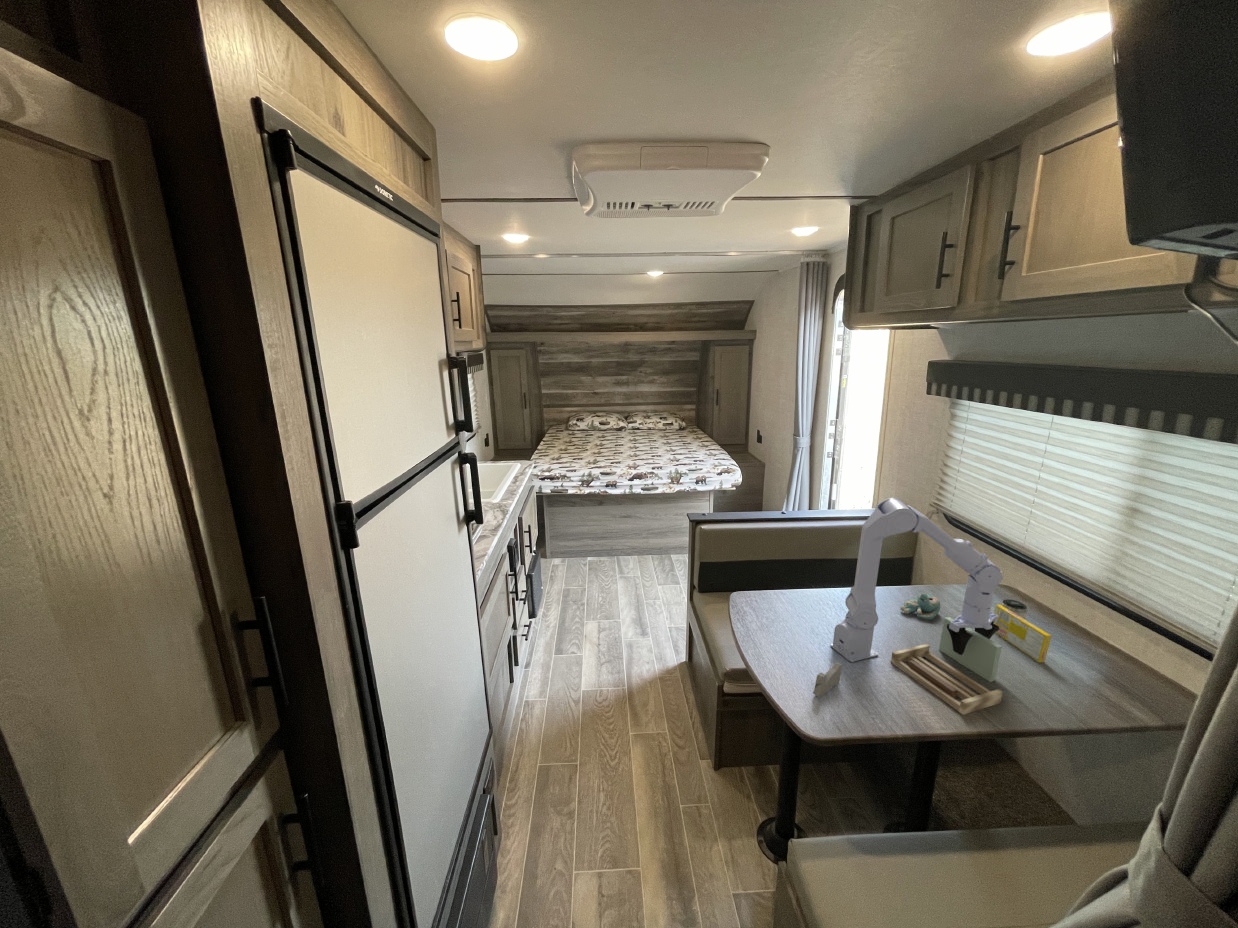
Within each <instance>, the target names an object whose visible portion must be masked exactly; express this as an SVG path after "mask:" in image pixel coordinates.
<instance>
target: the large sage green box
mask: <svg viewBox="0 0 1238 928" xmlns="http://www.w3.org/2000/svg"><path fill="white" fill-rule="evenodd" d="M953 620H955V619H954V618H952V617H950V616H948V617H947V616H946V617H944V619H943V623H942V624H943V626H942V629H941V630H942V631H941V635H940V642H939V647H938V650H939V651H940V652H941V653H943V654H945V655H946V656H948V657H950V658H952V659H953V660H955V661H956V662H958V663H959V664H961V665H962V666H964V667H966V668H967V669H969V670H970V671H972V672H973V673H975V674H977V675H978V676H980V677H981V678H983V679H984V680H986V681H988V682H989V683H992V682H994V681H995V680H996V676H997V670H998V667H999V662H1000V657H1001V652H1002V647H1003V646H1002V645H1001V644H999V643H997V642H995V641H993V640H991V638H990V639H988V638H986V637H984V636H983V635H981V634H979V633H977V632H975V629H974V630H973V629H972V628H966V629H965V630H966V632H967V633H969V634H971V635H972V637H971V638H970V639H969V641H968V642H967V644H966V647H965V650H964V653H963V654H962V655H959V654H958V653H956V652H954V651H953V645H952V639H951V636H950V633H949V631H948V629H947V624H949V623H950V622H951V621H953Z"/></svg>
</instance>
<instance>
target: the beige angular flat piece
mask: <svg viewBox="0 0 1238 928" xmlns="http://www.w3.org/2000/svg"><path fill="white" fill-rule="evenodd" d="M842 667H843V664H842V663H840V662H838V661H836V662H834V664H833V665H832V666H831V667H830V669H828V670H827V672H826V673H823V672H819V673H818V674H817V675H816V679H815V684H814V689H813V691H812V694H813V695H815V696H816V697H818V698H821V697H823V696H825V695H826V694H827V693H829V691H830V690H831V689H832V688H833V687H834V686H835V685H836V686H838V685H840V683H841V675H842Z"/></svg>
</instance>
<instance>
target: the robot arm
mask: <svg viewBox="0 0 1238 928" xmlns="http://www.w3.org/2000/svg"><path fill="white" fill-rule="evenodd" d="M910 531H912V533H918V532H919V533H920V532H922V533H923V534H925V536H928V537H929V538H930V539H932V540H933V541H934V542H935V543H937V544H938V545H939V546H941V547H942V548H943V555H944V557H947V558H948V559H949V560H951V561H952V563H954V564H955V565H957V566H958V567H959V568H961V570H963V571H964V572H966V574H968V577H967V581H966V587H965V592H964V597H963V602H962V607H961V608H962V609H961V613H960V614H959V615H958V616H956V618H955V619H954V620H953V621H951V622H950V623H949V624H947V629H948V631H949V633H950V636H951V639H952V645H953V651H954V652H956V653H958V654H959V655H962V654H963V653H964V650H965V647H966V644H967V642H968V641H969V639H970V638H971V637H972V635H971V634H969V633H967V632H966V630H965V629H966V628H970V629H972V628H973V629H974V631H975V632H977V633H979V634H981V635H983V636H984V637H986V638H988V639H990V640H991V638H992V637H993V636H994V634H996V633H995V632H997V631H998V630H999V626H997V625H995V624H993V623H996V622H997V620H998V615H996V614H994V612H991V610H992V605H993V599H994V595H995V591H996V587H997V586H999V584H1000V583H1002V581H1003V580H1004V576H1003V575H1002V571H1001V569H1000V568H999V566H997V565H996V564H995V563H993V562H992V561H991V560H990V559H989V556H987V554H985V553H980V552H979V551H978V550H977V549H975V548H974V544H973V543H972V542H970V541H969V540H964V539H962V538H953V537H952V536H950V535H949V534H948V533H947V532H946V531H944V530H943V529H942V528H941V527H940V526H938V525H937V524H936V523H935V522H933V521H932V520H931V519H930V518H928V517H927V516H926V515H925V514H923V512H921V511H919V510H917V509H916V508H914V507H912V506H911V505H909V504H905V503H904V501H903V500H901V499H900V498H897V497H889V498H886V499H885V500H884V499H883V500H882V501H881V502H879V503H877V504H876V506H875V508H874V510H873V512H872V513H871V514H870V515H869V517H868V518H867V519H866V520H865V522H863V524H862V527H861V532H860V541H859V546H858V547H859V548H858V556H857V563H856V569H855V576H854V577H855V578H854V585H853V586H851V587H850V590H849V593H848V595H847V596H846V598H845V602H844V603H845V606H846V608H847V610H848V611H847V613H846V615H845V618H844V620H843V621H842V622H840V623H838V624H836V626H834V631H833V638H832V639H833V640H832V643H831V644H830V647H831V648H833V649H834V650H835V651H836V652H837V653H839V654H840V655H841V656H842V657H844V658H845V659H847V661H849V662H850V663H854V662H857V661H861V660H862V661H863V660H864V659H865V660H866V659H870V658H873V657H878V656H879V653H878V652H877V651H875V650H874V649H873V648H872V646H873V637H874V629H875V627H876V626H877V624H878V622H879V615H878V613H877V601H876V595H875V594H876V590H877V589H876V588H877V581H878V576H879V575H878V574H879V567H880V563H881V562H880V560H881V554H882V547H883V540H884V539H885V538H888V537H890V536H894V535H899V534H903V533H904V534H905V533H907V532H910Z"/></svg>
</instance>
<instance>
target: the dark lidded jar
mask: <svg viewBox="0 0 1238 928" xmlns="http://www.w3.org/2000/svg"><path fill="white" fill-rule="evenodd" d="M1000 605H1002V606H1003V607H1005V608H1007V609H1008V610H1010V611H1012V612H1013V613H1015V614H1017V615H1018V616H1020V617H1022V618H1023V619H1025V620H1026V621H1027V614H1028V611H1029V609H1028V606H1027V605H1025V604H1024V603H1023V602H1021V601H1018V600H1015V599H1008V598H1007V599H1003V600H1002V601H1000Z"/></svg>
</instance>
